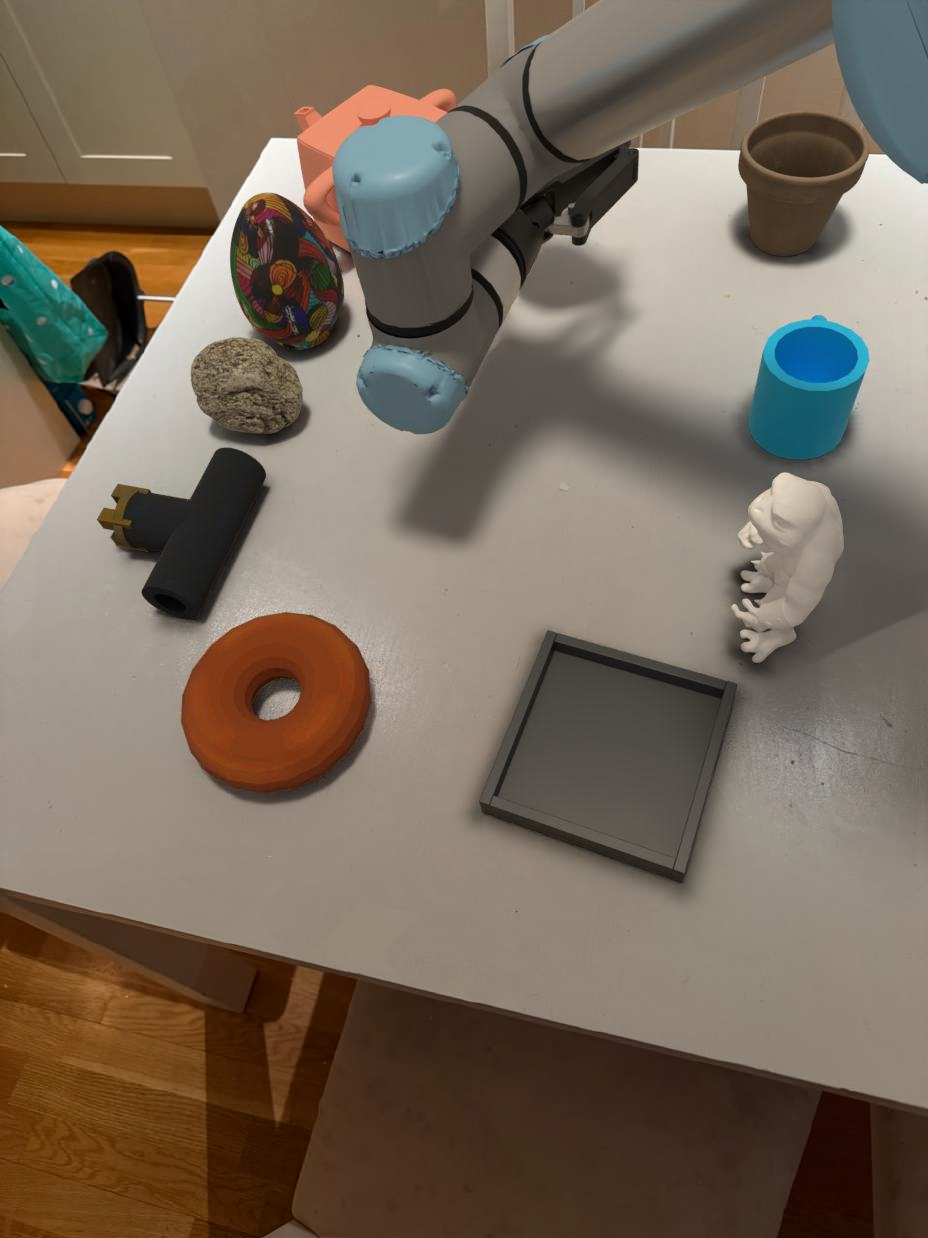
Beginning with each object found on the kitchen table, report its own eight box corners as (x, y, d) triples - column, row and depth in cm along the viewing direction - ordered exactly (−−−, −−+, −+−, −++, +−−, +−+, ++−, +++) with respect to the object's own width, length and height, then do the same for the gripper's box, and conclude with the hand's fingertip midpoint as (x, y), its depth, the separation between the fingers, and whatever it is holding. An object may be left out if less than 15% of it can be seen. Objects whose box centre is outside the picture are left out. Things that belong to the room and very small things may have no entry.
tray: (733, 697, 66) (738, 683, 64) (681, 882, 60) (684, 873, 58) (548, 644, 70) (547, 629, 68) (482, 812, 64) (478, 801, 62)
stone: (297, 452, 84) (264, 374, 76) (206, 441, 87) (163, 364, 78) (319, 404, 87) (289, 323, 79) (230, 394, 89) (191, 315, 81)
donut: (161, 770, 69) (133, 745, 65) (247, 613, 76) (226, 581, 71) (331, 828, 65) (312, 805, 61) (406, 656, 71) (394, 625, 67)
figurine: (812, 680, 66) (866, 569, 53) (720, 672, 67) (751, 561, 55) (809, 561, 71) (857, 433, 59) (724, 555, 73) (752, 429, 60)
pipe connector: (62, 567, 74) (141, 432, 81) (92, 600, 78) (164, 470, 85) (185, 592, 71) (255, 450, 78) (208, 624, 76) (273, 488, 83)
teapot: (512, 198, 100) (502, 71, 88) (379, 311, 93) (347, 189, 81) (387, 146, 108) (362, 23, 96) (256, 246, 101) (211, 127, 89)
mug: (840, 466, 76) (865, 397, 69) (741, 452, 78) (756, 384, 71) (852, 366, 81) (877, 293, 74) (760, 355, 83) (776, 283, 76)
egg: (236, 352, 93) (179, 225, 80) (288, 286, 97) (242, 155, 84) (323, 375, 89) (278, 246, 76) (372, 305, 94) (337, 173, 81)
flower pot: (846, 204, 93) (872, 107, 84) (842, 276, 87) (869, 182, 79) (732, 199, 95) (747, 105, 87) (721, 269, 90) (735, 177, 81)
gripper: (362, 284, 76) (460, 132, 85) (616, 327, 69) (690, 157, 79) (341, 204, 69) (449, 50, 79) (618, 243, 63) (698, 69, 72)
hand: (569, 103), depth 79 cm, fingers closed on cup, 10 cm apart
